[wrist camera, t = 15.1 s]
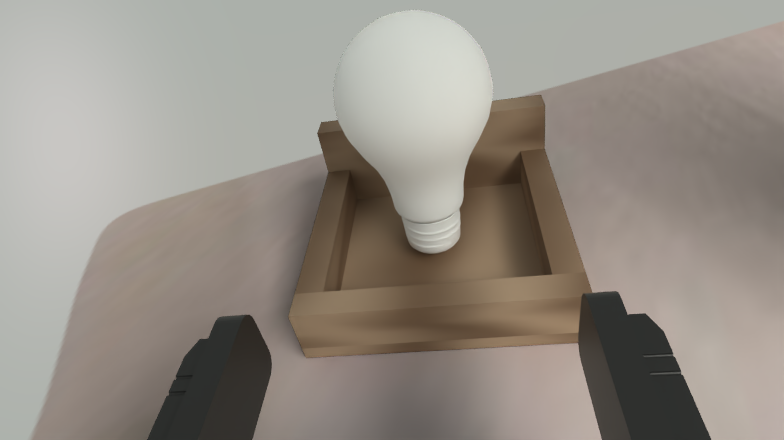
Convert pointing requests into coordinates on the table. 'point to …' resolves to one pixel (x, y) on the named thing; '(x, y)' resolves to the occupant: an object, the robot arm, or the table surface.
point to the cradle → (443, 254)
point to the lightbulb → (416, 115)
